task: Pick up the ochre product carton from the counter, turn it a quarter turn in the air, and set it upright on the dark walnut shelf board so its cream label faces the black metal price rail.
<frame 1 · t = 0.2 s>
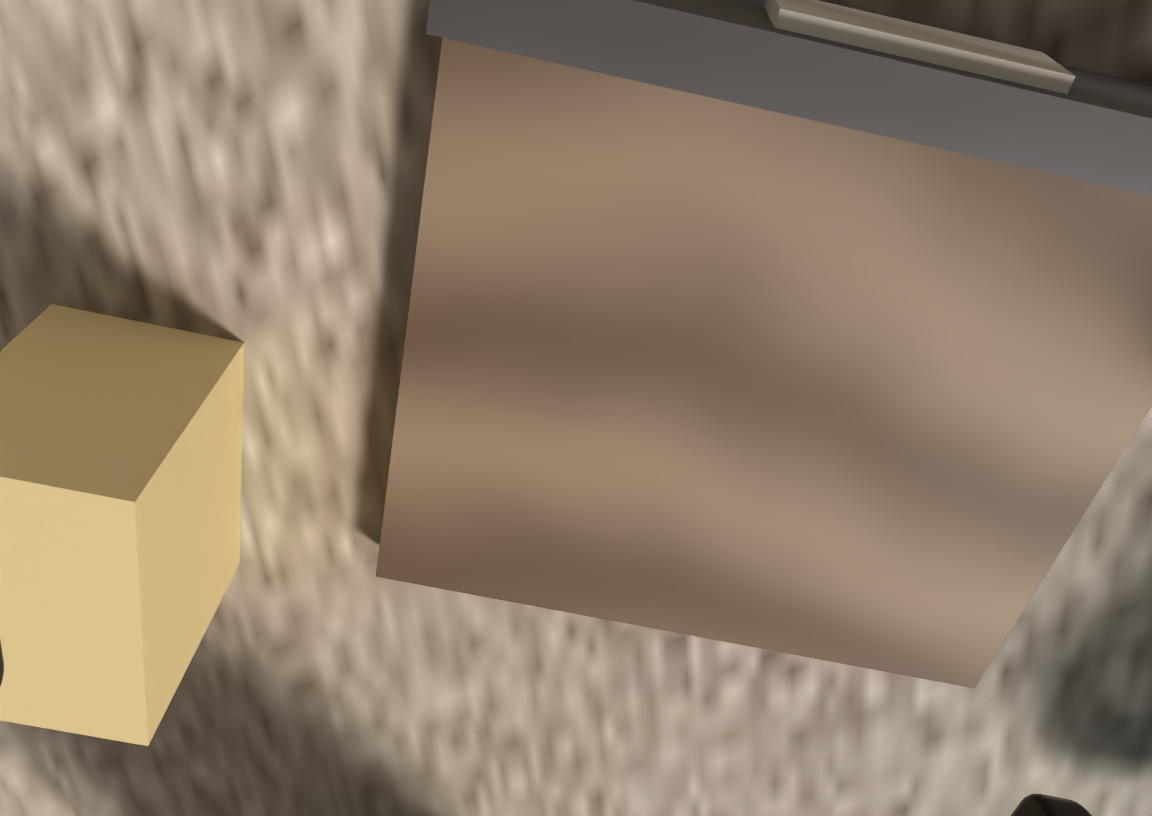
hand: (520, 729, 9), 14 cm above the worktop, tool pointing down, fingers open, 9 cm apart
ochre carton: (154, 442, 25), on the worktop
shelf board: (757, 390, 23), on the worktop
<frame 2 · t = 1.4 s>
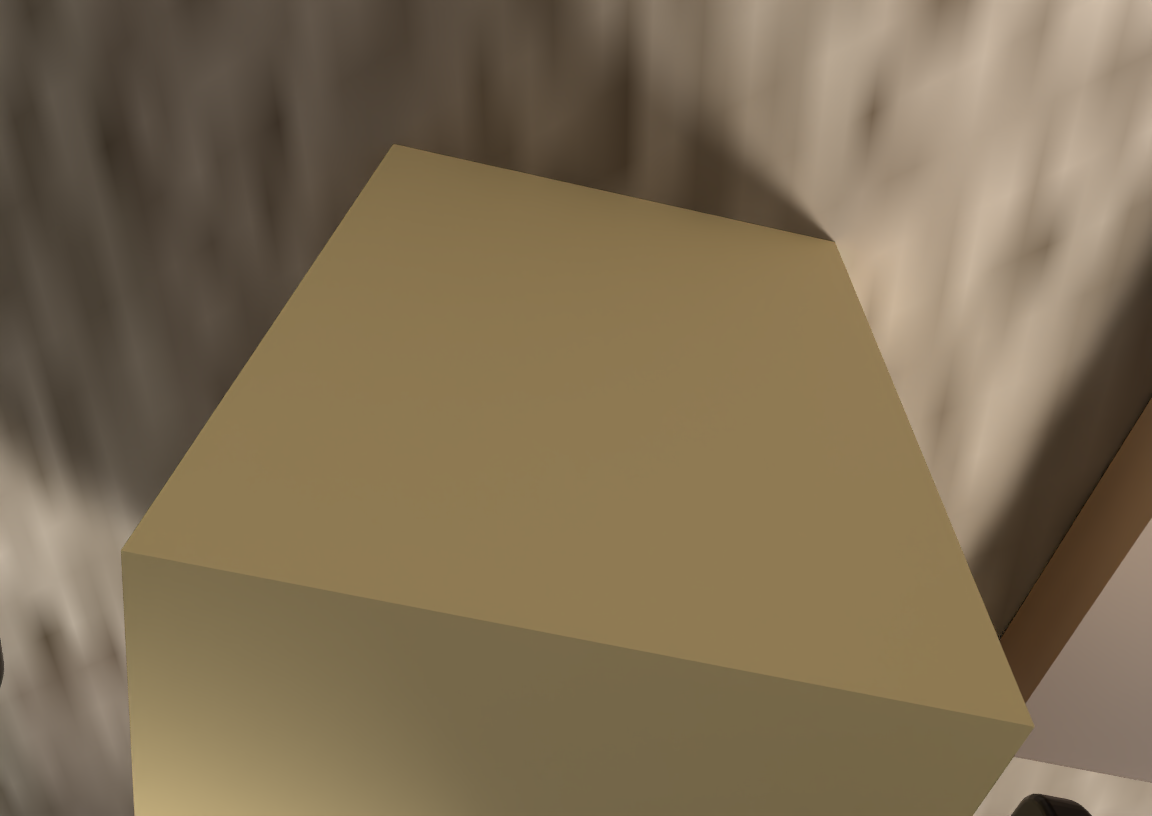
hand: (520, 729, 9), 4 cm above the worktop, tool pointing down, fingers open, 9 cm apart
ochre carton: (548, 471, 12), on the worktop
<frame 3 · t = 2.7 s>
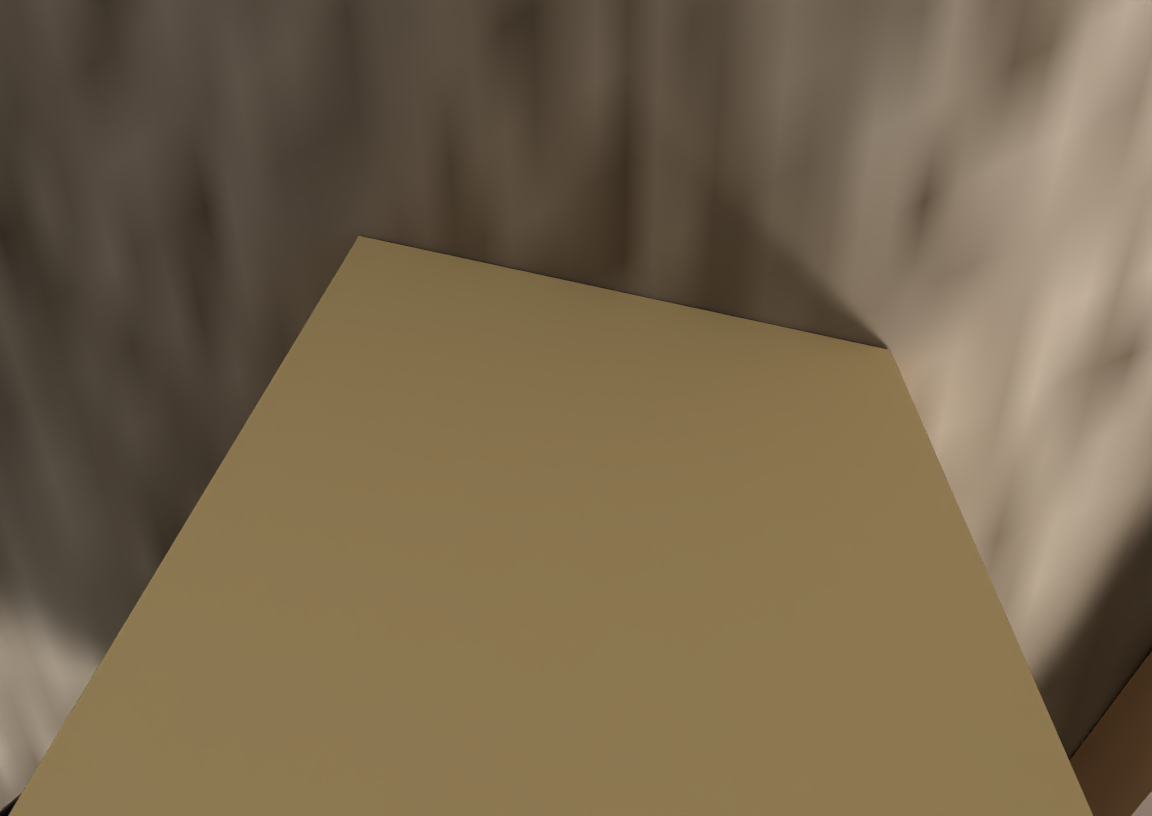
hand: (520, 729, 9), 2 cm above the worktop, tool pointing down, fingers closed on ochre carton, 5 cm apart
ochre carton: (546, 603, 10), on the worktop, touching gripper
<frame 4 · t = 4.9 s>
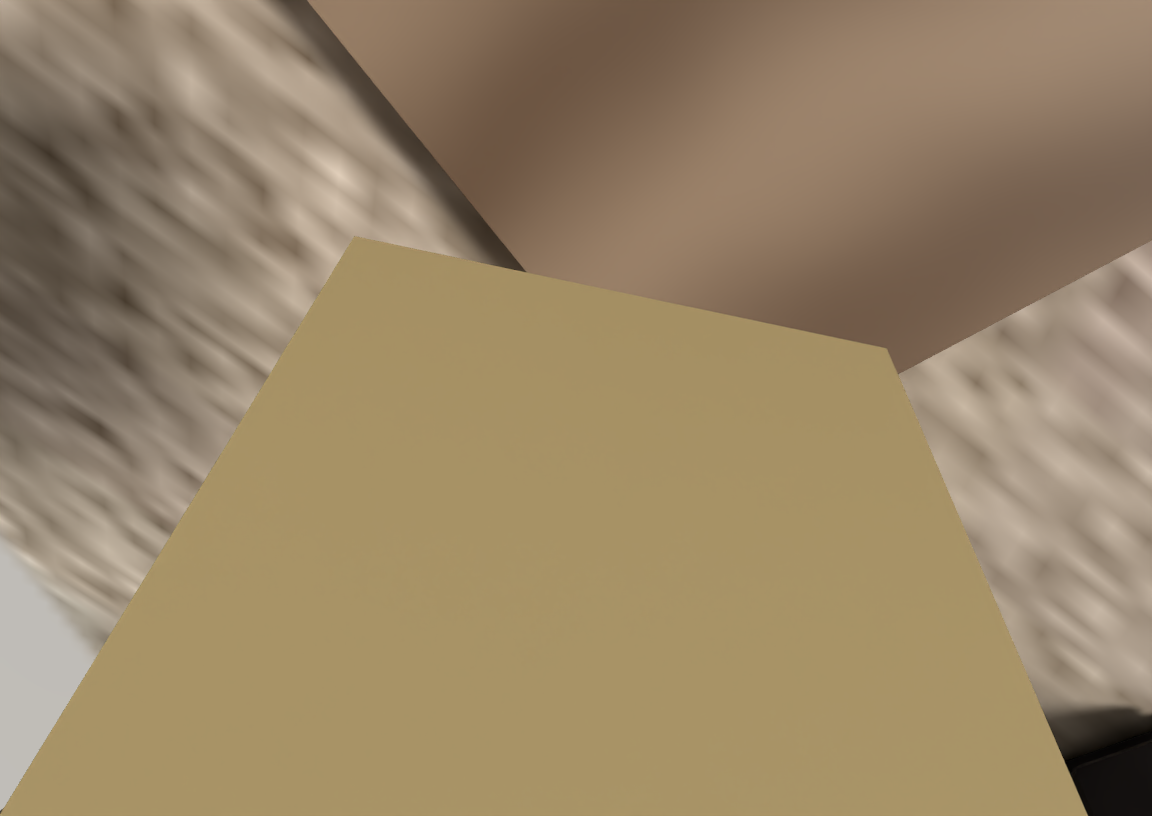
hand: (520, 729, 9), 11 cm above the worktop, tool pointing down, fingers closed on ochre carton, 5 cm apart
ochre carton: (545, 603, 10), point 10 cm above the worktop, touching gripper
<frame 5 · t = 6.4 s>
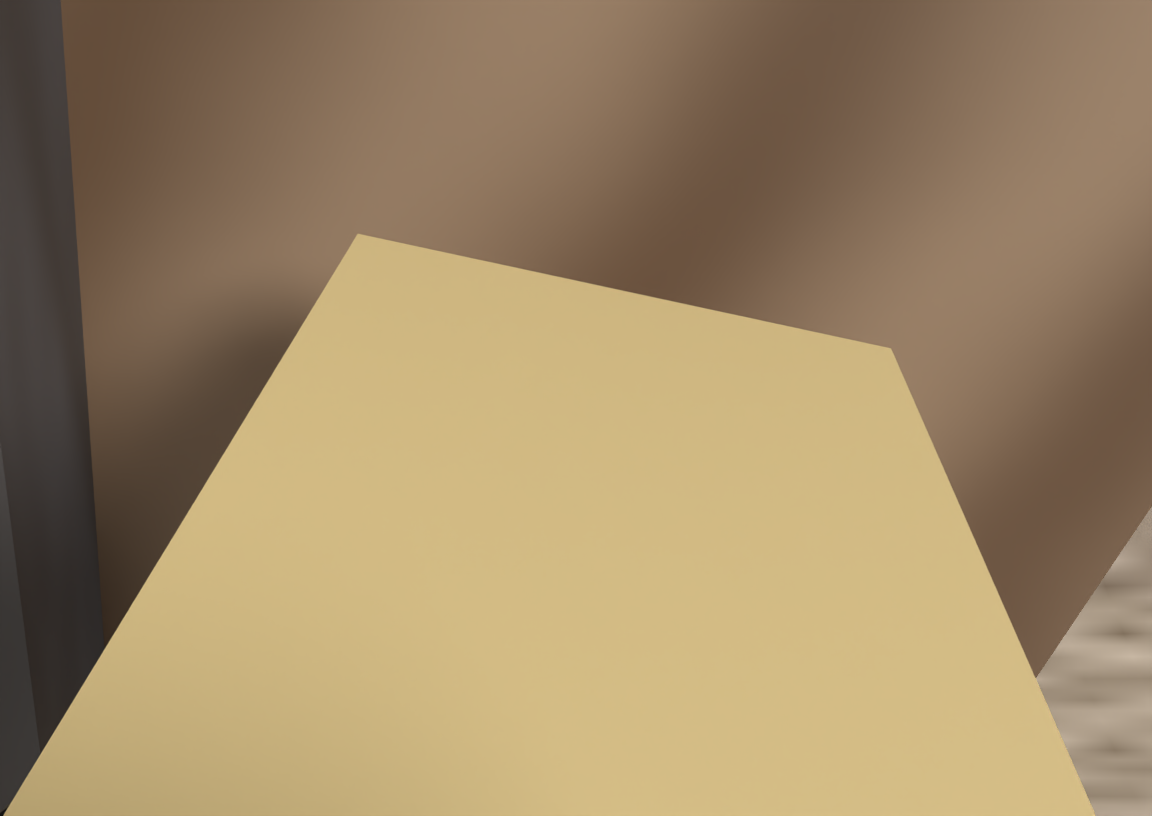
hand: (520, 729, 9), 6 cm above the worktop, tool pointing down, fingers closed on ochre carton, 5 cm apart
ochre carton: (546, 603, 10), point 5 cm above the worktop, touching gripper
shelf board: (628, 385, 14), on the worktop
when the fingers open (4 cm above the worktop, at t = 7.5 s): ochre carton drops 1 cm, resting on shelf board.
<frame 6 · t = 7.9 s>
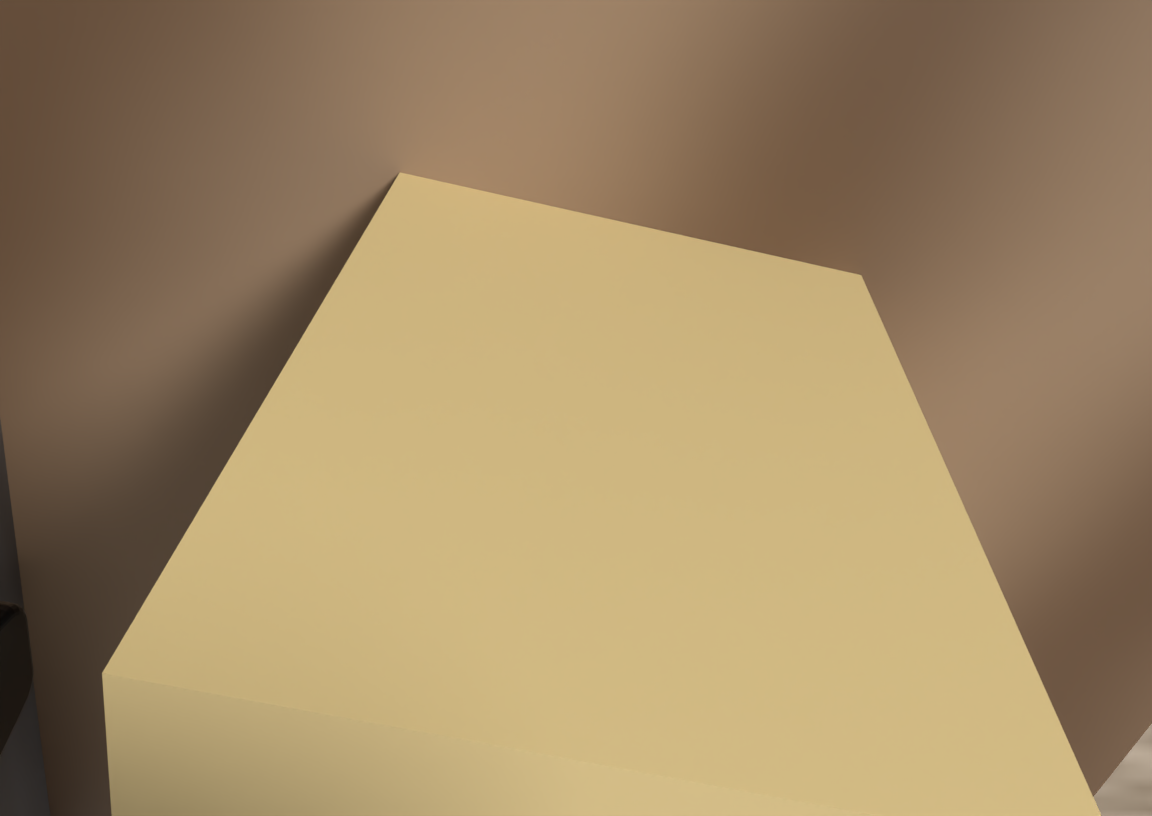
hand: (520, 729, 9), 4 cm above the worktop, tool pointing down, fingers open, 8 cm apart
ochre carton: (558, 512, 11), point 1 cm above the worktop, touching shelf board
shelf board: (632, 475, 12), on the worktop
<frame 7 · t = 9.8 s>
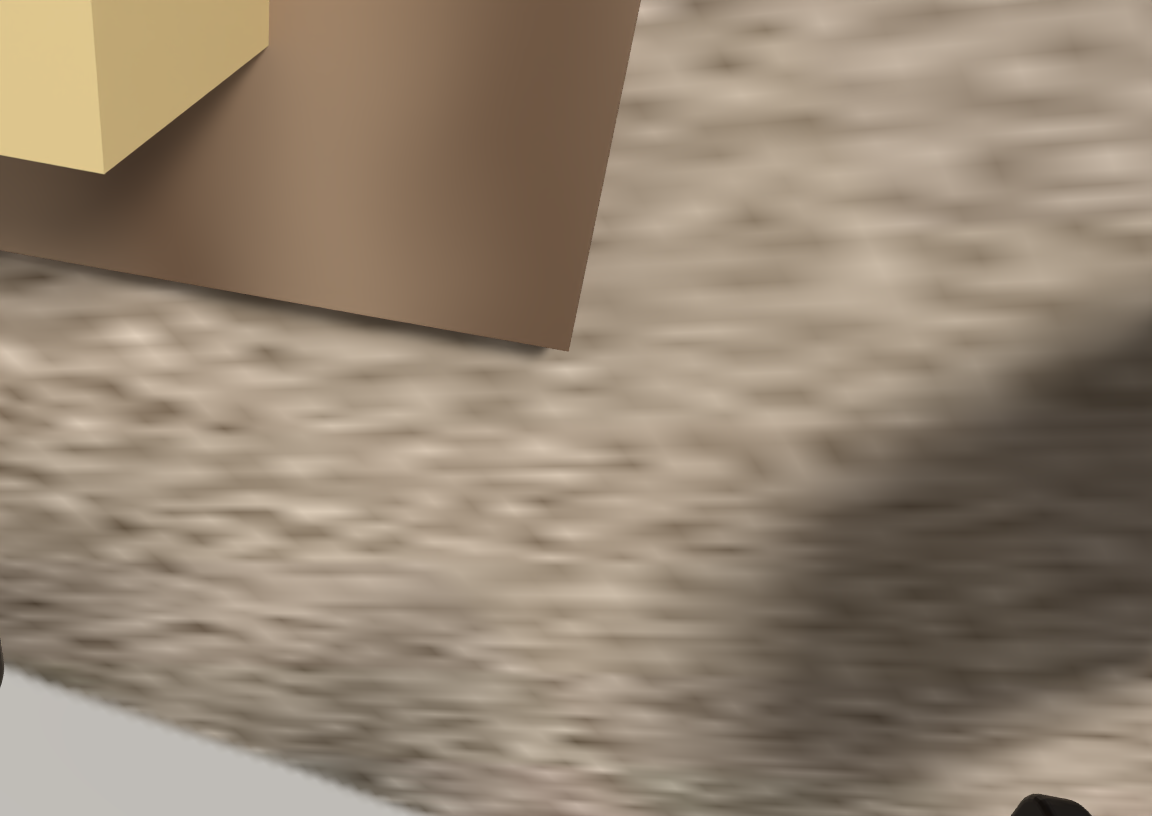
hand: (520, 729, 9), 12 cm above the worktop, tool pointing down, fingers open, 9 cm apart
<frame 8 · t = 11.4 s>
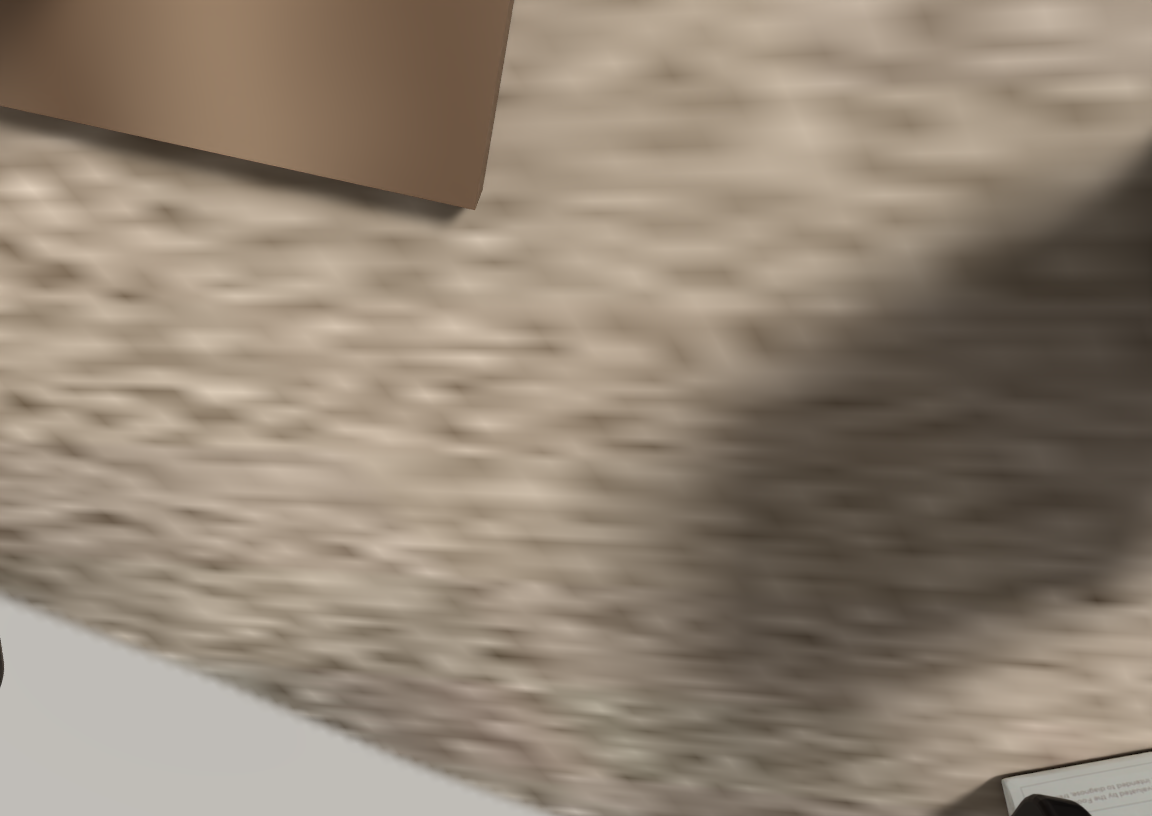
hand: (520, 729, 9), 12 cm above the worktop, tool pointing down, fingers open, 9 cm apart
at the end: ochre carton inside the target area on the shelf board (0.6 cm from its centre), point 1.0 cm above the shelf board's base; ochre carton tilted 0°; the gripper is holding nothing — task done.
